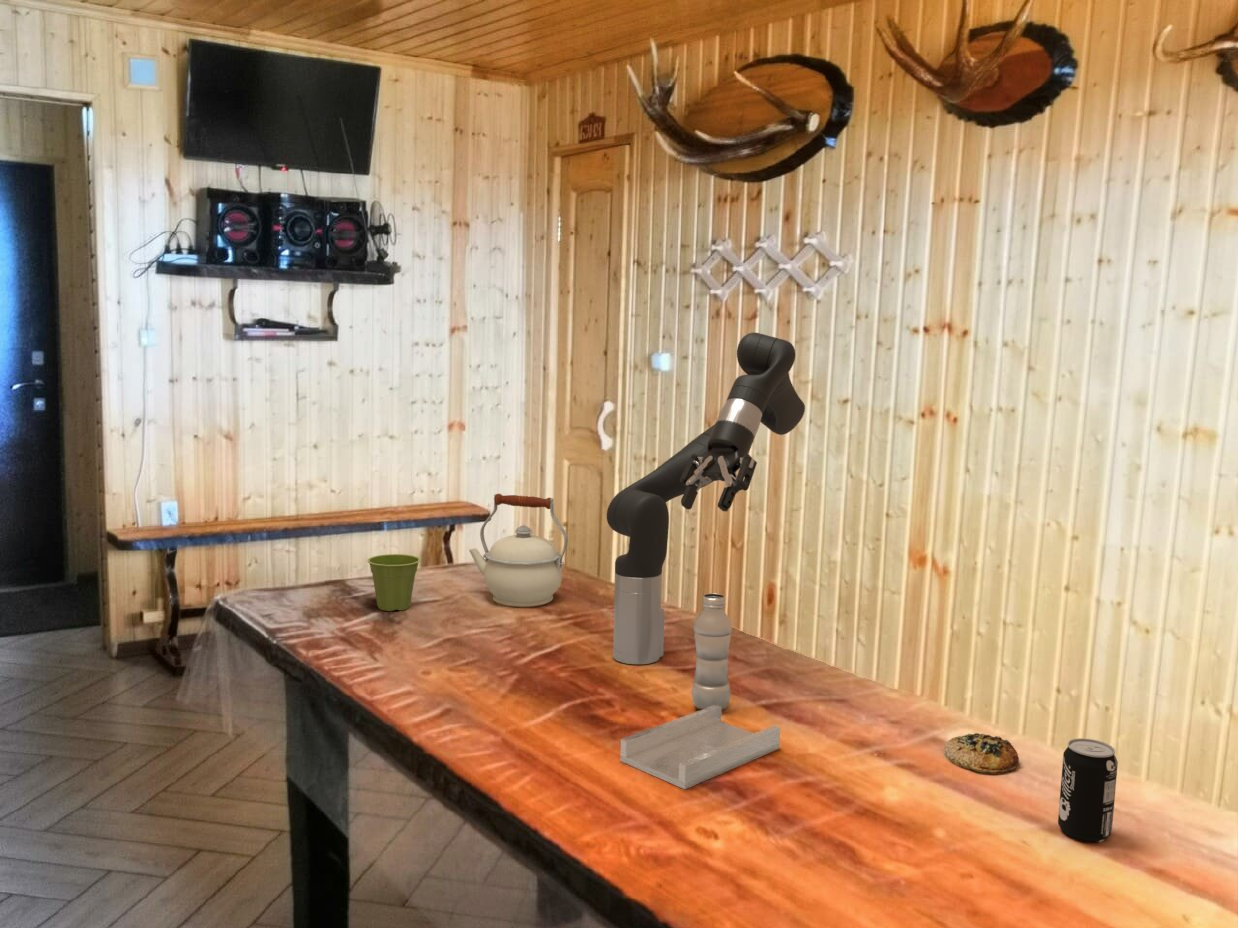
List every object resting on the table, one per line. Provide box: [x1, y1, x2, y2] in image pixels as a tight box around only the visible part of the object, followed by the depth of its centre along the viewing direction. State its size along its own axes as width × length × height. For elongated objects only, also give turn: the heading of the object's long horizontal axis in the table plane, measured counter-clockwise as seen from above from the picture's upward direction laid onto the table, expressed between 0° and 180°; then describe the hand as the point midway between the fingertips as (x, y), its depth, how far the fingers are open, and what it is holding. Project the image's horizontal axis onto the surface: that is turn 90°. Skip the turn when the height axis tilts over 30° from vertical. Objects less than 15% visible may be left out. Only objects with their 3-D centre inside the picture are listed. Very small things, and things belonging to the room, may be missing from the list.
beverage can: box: [1057, 738, 1119, 843], centre depth 142 cm, size 7×7×12 cm
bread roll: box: [943, 732, 1020, 775], centre depth 166 cm, size 11×11×5 cm
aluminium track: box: [619, 705, 781, 790], centre depth 166 cm, size 22×13×4 cm, turn 134°
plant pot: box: [366, 553, 422, 612], centre depth 244 cm, size 12×12×11 cm
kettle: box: [468, 493, 569, 608], centre depth 253 cm, size 25×18×25 cm
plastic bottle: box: [691, 592, 733, 711], centre depth 184 cm, size 6×7×20 cm
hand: (703, 508), depth 187 cm, fingers open, 8 cm apart
